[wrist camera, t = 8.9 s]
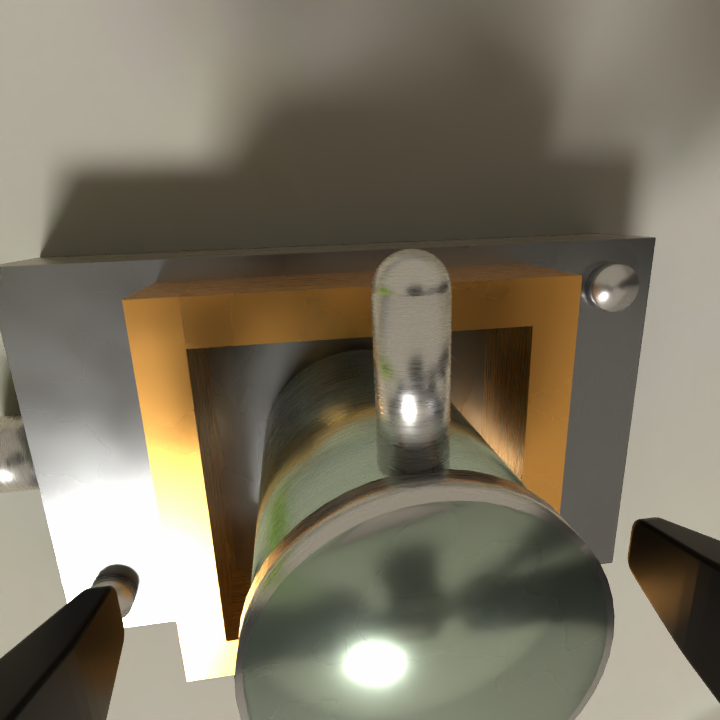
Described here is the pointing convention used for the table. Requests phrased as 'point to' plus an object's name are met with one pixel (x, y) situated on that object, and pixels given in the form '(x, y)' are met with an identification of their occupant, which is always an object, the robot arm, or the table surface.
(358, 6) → the table surface
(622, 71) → the table surface
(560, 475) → the grey orange socket fixture
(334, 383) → the spout can
